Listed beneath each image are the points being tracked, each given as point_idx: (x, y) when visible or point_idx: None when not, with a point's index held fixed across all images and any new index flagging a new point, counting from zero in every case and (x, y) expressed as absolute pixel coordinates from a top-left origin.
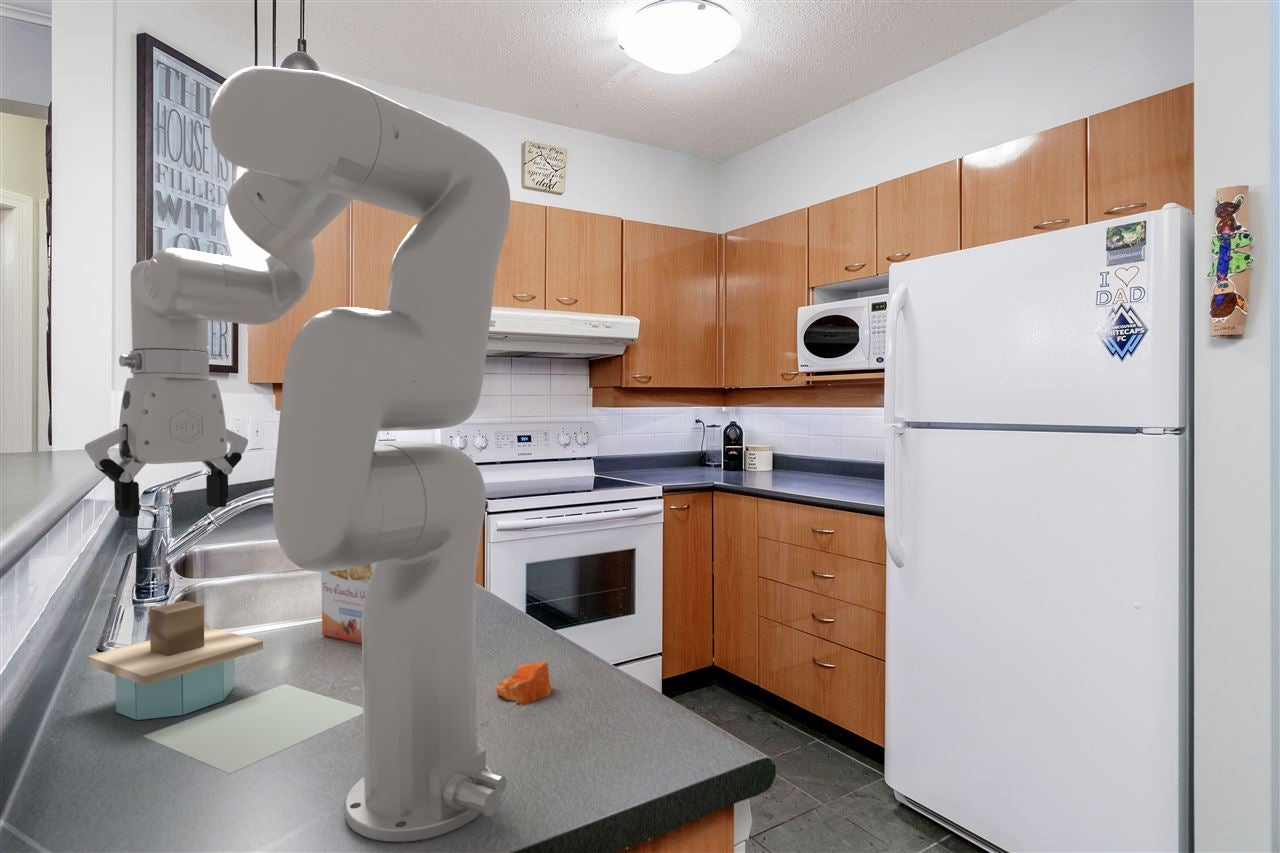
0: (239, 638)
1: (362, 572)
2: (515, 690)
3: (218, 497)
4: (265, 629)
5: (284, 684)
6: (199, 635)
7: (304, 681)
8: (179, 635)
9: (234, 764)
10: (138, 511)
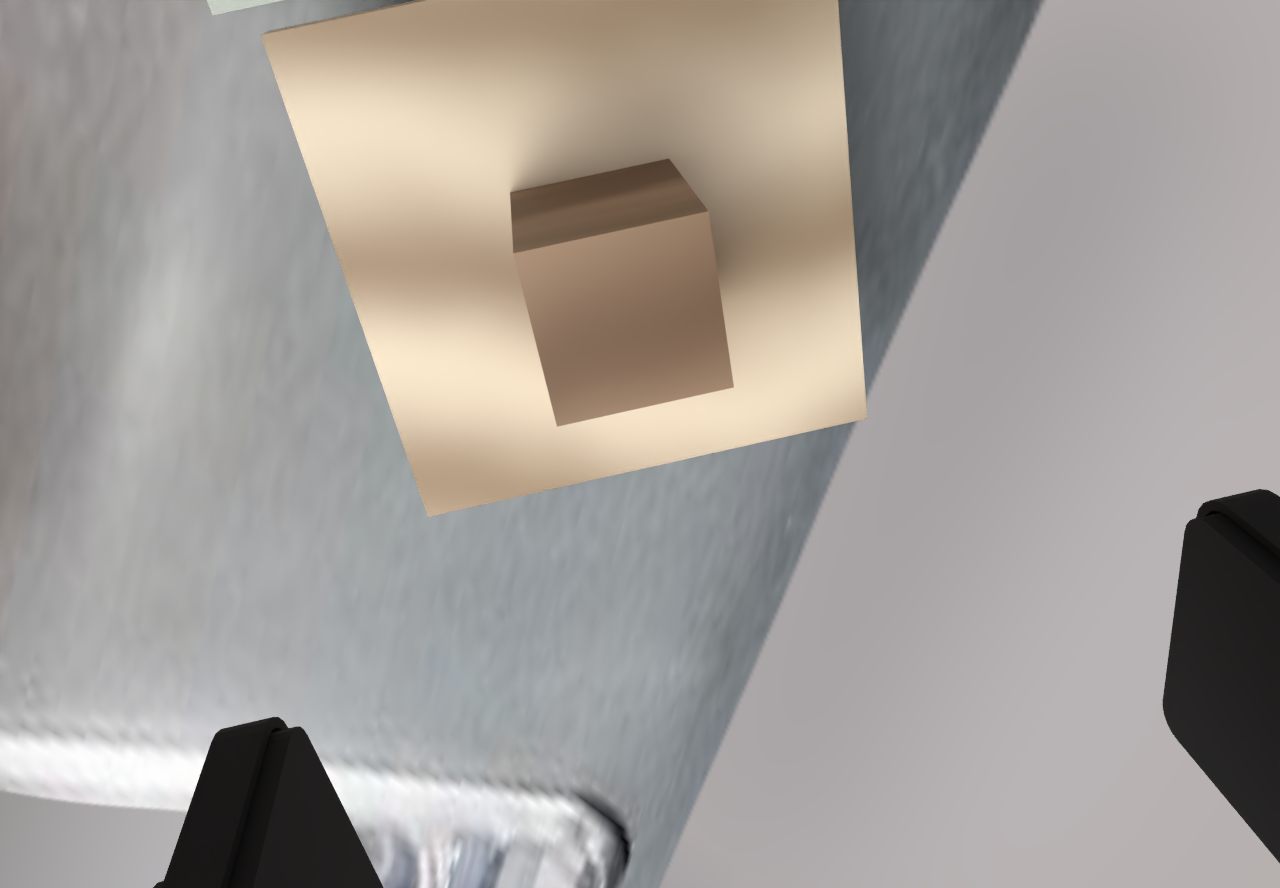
0: (349, 186)
1: None
2: None
3: (286, 837)
4: (140, 755)
5: (215, 12)
6: (533, 204)
7: (123, 19)
8: (630, 188)
9: None
10: (1231, 537)
